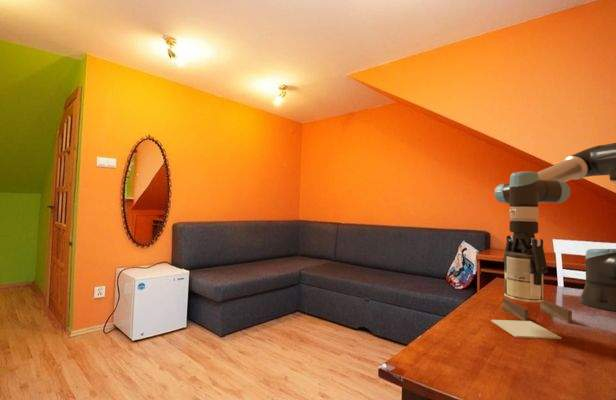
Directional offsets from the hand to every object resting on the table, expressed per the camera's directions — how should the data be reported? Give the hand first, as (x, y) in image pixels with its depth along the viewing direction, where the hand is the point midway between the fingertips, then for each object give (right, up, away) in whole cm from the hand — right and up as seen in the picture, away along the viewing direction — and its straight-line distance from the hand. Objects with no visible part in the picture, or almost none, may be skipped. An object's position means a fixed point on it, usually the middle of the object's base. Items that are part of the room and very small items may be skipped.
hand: (523, 290), depth 96 cm
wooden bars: (+13, -13, +13) cm, 23 cm away
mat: (0, -12, 0) cm, 12 cm away
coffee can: (0, -2, 0) cm, 2 cm away
